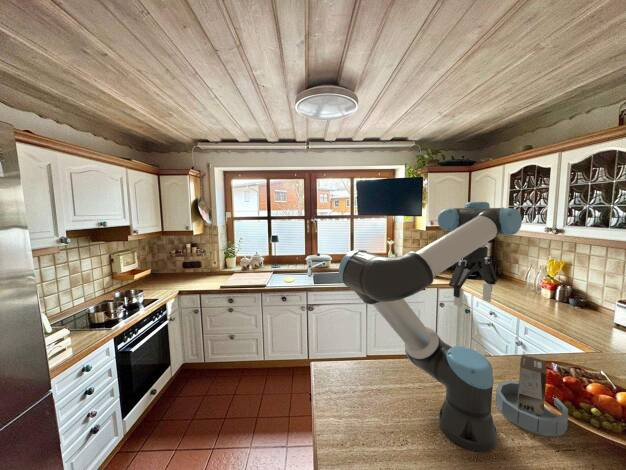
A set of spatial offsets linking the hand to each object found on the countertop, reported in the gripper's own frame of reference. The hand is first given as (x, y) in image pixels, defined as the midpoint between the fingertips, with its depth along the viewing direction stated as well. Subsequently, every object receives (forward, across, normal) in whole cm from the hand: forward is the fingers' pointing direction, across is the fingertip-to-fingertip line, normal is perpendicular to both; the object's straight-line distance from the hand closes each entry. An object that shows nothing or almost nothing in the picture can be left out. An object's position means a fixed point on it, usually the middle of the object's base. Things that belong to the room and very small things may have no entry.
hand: (472, 303), depth 96 cm
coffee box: (+31, +6, -17) cm, 36 cm away
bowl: (+32, +6, -17) cm, 36 cm away
